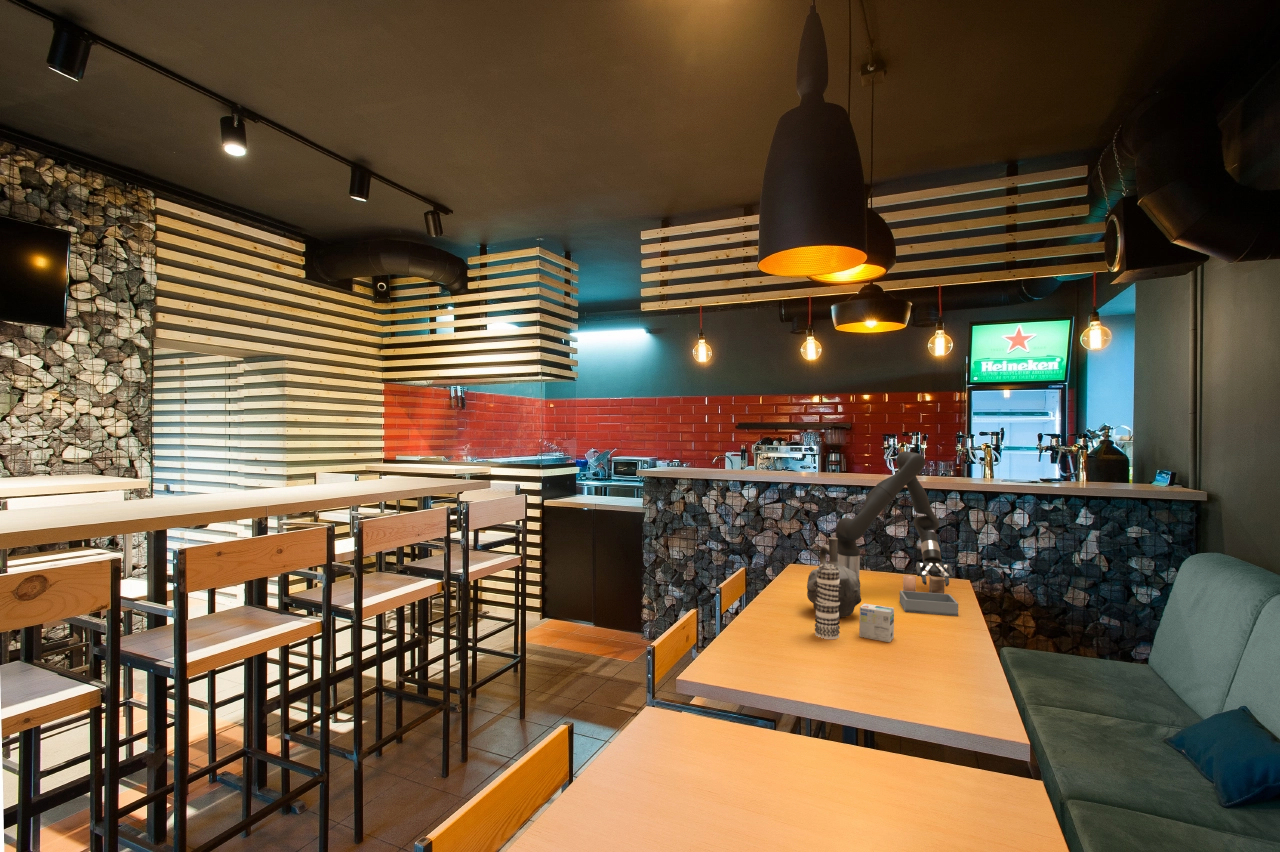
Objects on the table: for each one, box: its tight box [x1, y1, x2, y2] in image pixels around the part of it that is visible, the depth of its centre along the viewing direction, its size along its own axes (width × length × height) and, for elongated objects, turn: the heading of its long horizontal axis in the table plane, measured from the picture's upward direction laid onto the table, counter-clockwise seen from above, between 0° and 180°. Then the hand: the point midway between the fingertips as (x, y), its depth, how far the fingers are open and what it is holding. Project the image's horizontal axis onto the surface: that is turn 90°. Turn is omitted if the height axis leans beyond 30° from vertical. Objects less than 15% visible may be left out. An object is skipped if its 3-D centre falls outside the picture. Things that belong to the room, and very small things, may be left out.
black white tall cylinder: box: [814, 563, 841, 640], centre depth 229 cm, size 9×9×25 cm
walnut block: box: [928, 576, 946, 594], centre depth 276 cm, size 5×5×10 cm
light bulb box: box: [858, 602, 895, 643], centre depth 228 cm, size 11×7×11 cm, turn 58°
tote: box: [899, 590, 959, 617], centre depth 265 cm, size 20×15×5 cm
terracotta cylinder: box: [902, 574, 917, 592], centre depth 279 cm, size 5×5×10 cm
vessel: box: [806, 537, 862, 618], centre depth 257 cm, size 24×22×30 cm
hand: (936, 584), depth 278 cm, fingers open, 8 cm apart
